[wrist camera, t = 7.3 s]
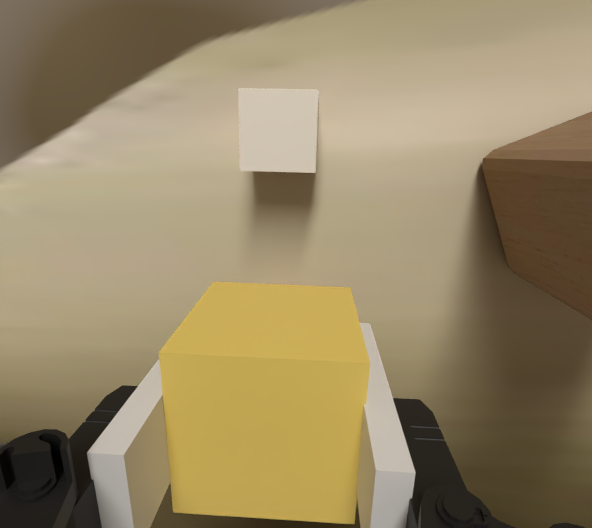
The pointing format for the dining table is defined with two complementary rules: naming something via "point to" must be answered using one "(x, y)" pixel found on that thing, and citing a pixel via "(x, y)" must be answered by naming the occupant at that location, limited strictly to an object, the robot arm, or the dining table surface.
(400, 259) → the dining table surface
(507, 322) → the dining table surface
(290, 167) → the cream cube
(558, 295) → the wooden block
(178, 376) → the mustard cube
